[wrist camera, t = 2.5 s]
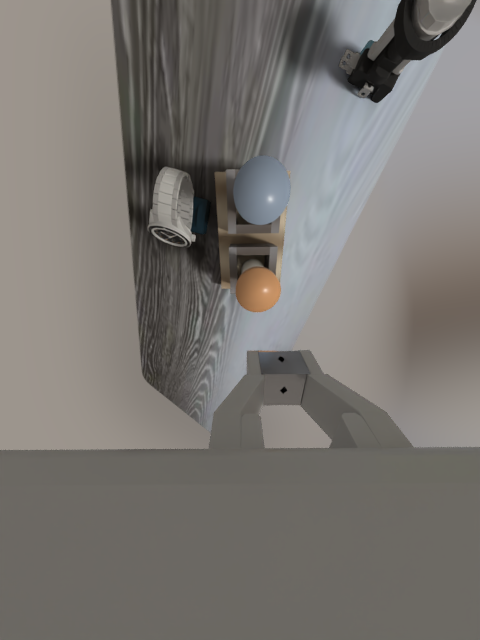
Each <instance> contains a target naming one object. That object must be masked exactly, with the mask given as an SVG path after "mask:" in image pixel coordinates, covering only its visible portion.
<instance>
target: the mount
mask: <svg viewBox="0 0 480 640" xmlns="http://www.w3.org/2000/svg"><path fill="white" fill-rule="evenodd" d="M239 170H240V169H226V172H215V187H216V203H217V219H218V236H219V252H220V269H221V285H222V289H230V292H231V294H236V283H237V280H238V278H239V276H240V275H241V268H242V265H243V264H244V262H245V261H247V260H249V259H257V260H259V261H260V262H261V263H262V265H263V267H265V268H267V269H269V270H271V271H272V272H273V273H274V274H275V276H276V277H277V279H278V280H279V283H280V276H281V265H282V255H283V244H284V233H285V222H286V212H287V206H286V208H285V210H284V211H283V213H282V214H281V215H280V216H279V217H278V218H277V219H276V220H274V221H273V222H271V223H268V224H265V225H255V224H252V223H249V222H247V221H246V220H245V219H243V218H242V217H241V215H240V214H239V212H238V211H237V208H236V206H235V202H234V196H233V188H234V182H235V179H236V176H237V174H238V172H239ZM287 173H288V176H289V179H290V171H287Z"/></svg>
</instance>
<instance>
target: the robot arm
mask: <svg viewBox="0 0 480 640" xmlns="http://www.w3.org/2000/svg"><path fill="white" fill-rule="evenodd" d="M263 405H301V407H302V408H303V409H304V410H305V411H306V412H307V413H308V415H310V417H311V418H312V419H313V420H314V421H315V422H316V423H317V424H318V425H319V426H320V428H322V429H323V431H324V432H325V433H326V434H327V435H328V436H329V437H330V438H331V439H332V443H331V445H330V447H329V448H280V449H279V448H265V449H264V440H263V433H262V424H261V417H260V416H259V414H260V412H261V410H262V408H263ZM0 640H480V447H417V448H416V447H413V446H412V444H411V443H410V442H409V441H408V439H407V438H406V437H405V435H404V434H403V433H402V432H401V430H400V429H399V428H398V426H396V424H395V423H394V421H393V420H392V419H391V418H390V416H389V415H388V414H387V412H385V411H384V410H382V409H381V408H379V407H378V406H376V405H374V404H373V403H371V402H370V401H368V400H367V399H365V398H364V397H362V396H360V395H359V394H357V393H356V392H354V391H353V390H351V389H350V388H348V387H347V386H345V385H343V384H342V383H340V382H339V381H337V380H336V379H334V378H332V377H331V376H329V375H328V374H324V373H323V372H322V370H321V368H320V366H319V365H318V363H317V361H316V360H315V358H314V356H313V354H312V353H311V351H310V350H299V351H247V375H245V376H244V377H243V378H242V379H241V380H240V382H239V383H238V384H237V385H236V387H235V388H234V389H233V390H232V391H231V393H230V394H229V395H228V396H227V397H226V399H225V400H224V401H223V402H222V404H221V405H220V406H219V407H218V408H217V410H216V411H215V412H214V416H213V423H212V430H211V436H210V444H209V449H131V450H130V449H124V450H122V449H120V450H119V449H118V450H0Z"/></svg>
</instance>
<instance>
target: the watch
mask: <svg viewBox="0 0 480 640" xmlns="http://www.w3.org/2000/svg"><path fill="white" fill-rule="evenodd" d="M160 202H161V203H160ZM153 203H154V204H153V209H151V210H150V218H149V225H148V231H149V232H150V233H151V234H152V235H153V236H154V237H156V238H157V239H159V240H161V241H163V242H165V243H167V244H170V245H173V246H177V247H189V246H190V245H191V241H193V242H195V238H196V235H193V234H192V233H191V231H192V232H196V233H199V234H206V231H207V224H208V218H209V211H210V204H211V202H209V201H208V200H205V199H201V198H198V197H195V196H194V189H193V185H192V181H191V178H190V175H189V174H188V173H186V172H184V171H181V170H178V169H174V168H170V167H164V168H163V169H162V170H161V171H160V173H159V175H158V177H157V179H156V184H155V188H154V195H153ZM156 204H157V205H156Z"/></svg>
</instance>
